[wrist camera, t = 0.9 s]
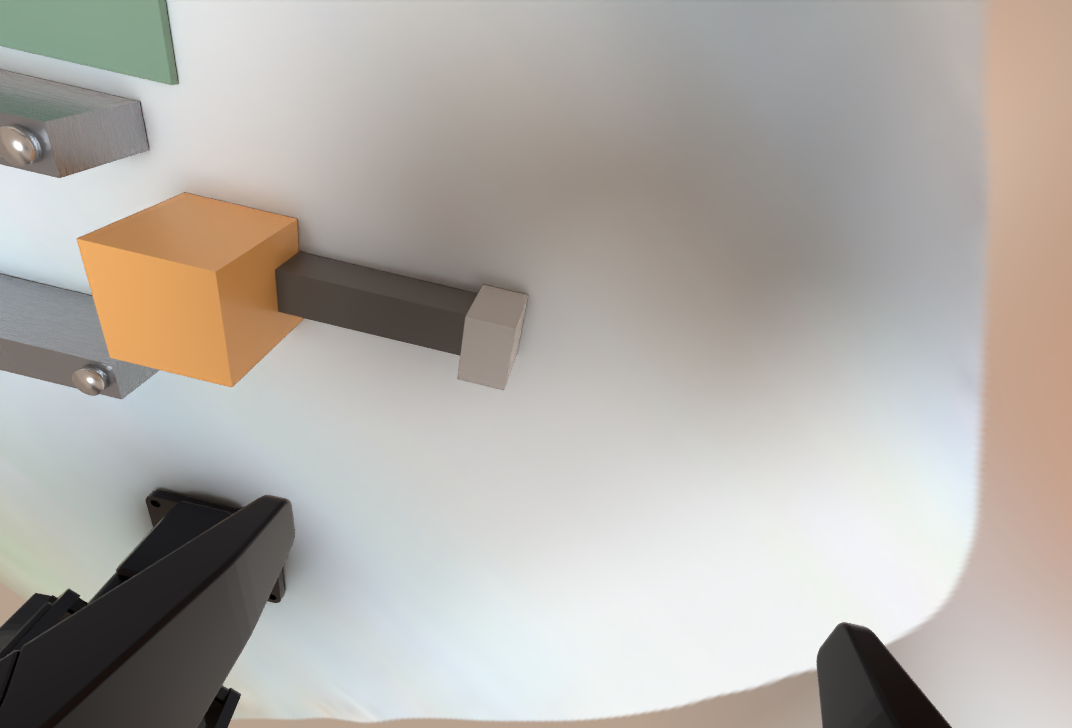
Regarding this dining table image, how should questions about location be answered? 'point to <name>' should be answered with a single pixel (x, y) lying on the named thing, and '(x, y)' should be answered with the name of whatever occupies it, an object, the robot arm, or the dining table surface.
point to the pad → (94, 34)
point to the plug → (269, 295)
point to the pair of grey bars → (60, 150)
